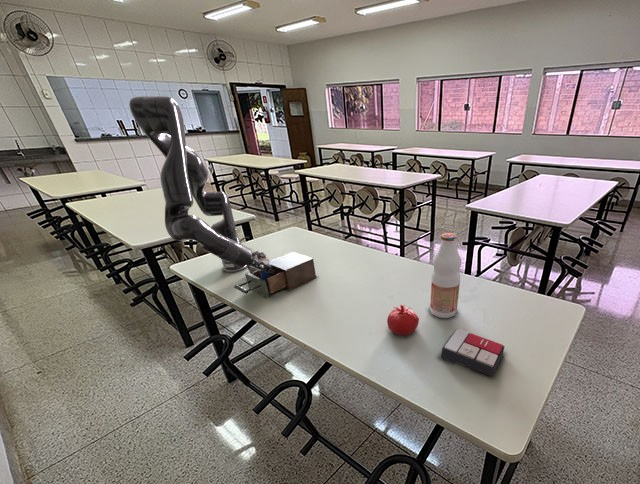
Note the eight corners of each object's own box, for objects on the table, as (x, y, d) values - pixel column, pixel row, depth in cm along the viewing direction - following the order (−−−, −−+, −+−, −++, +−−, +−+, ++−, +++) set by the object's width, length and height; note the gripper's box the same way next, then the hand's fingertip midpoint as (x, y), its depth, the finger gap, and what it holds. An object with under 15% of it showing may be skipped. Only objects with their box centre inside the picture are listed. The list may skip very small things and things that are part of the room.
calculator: (494, 367, 83) (441, 346, 89) (491, 378, 85) (440, 357, 91) (505, 343, 91) (456, 326, 97) (502, 355, 93) (454, 337, 99)
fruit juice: (439, 321, 107) (444, 242, 92) (425, 307, 114) (428, 232, 100) (462, 314, 110) (471, 237, 96) (447, 301, 118) (453, 228, 103)
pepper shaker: (261, 282, 125) (256, 261, 120) (273, 280, 127) (268, 259, 123) (264, 287, 122) (259, 265, 117) (276, 284, 124) (271, 263, 119)
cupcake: (244, 277, 136) (238, 255, 130) (260, 268, 143) (255, 247, 138) (262, 281, 133) (256, 259, 127) (277, 271, 140) (273, 250, 135)
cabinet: (289, 290, 126) (285, 270, 121) (270, 281, 132) (265, 262, 128) (316, 277, 135) (313, 258, 131) (296, 269, 142) (293, 251, 137)
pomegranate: (408, 342, 97) (408, 317, 92) (381, 332, 102) (380, 308, 97) (423, 326, 104) (424, 302, 99) (398, 317, 109) (397, 294, 104)
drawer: (251, 305, 115) (246, 288, 111) (234, 295, 120) (229, 279, 117) (294, 284, 128) (291, 269, 124) (276, 277, 134) (273, 262, 130)
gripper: (250, 247, 106) (287, 267, 121) (227, 238, 113) (264, 259, 128) (239, 267, 105) (277, 285, 120) (217, 257, 112) (255, 275, 127)
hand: (270, 271), depth 124 cm, fingers closed on pepper shaker, 4 cm apart
